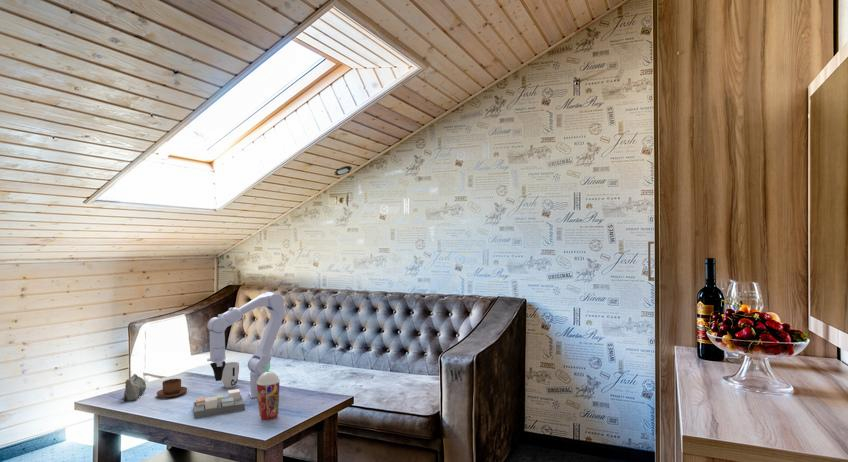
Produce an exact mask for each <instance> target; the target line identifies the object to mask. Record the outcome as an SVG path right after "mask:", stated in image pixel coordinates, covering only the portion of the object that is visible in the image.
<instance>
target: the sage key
mask: <svg viewBox="0 0 848 462" xmlns="http://www.w3.org/2000/svg"><path fill="white" fill-rule="evenodd" d="M211 397H217V403H221V399H224V397H225V396H224V394H217V395H212V396H211Z"/></svg>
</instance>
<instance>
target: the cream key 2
mask: <svg viewBox="0 0 848 462" xmlns="http://www.w3.org/2000/svg"><path fill="white" fill-rule="evenodd" d="M240 395H241V391H240V388H237V389H230V390H227V397H228V398H232V397H233V400H240Z"/></svg>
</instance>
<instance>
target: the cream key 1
mask: <svg viewBox="0 0 848 462" xmlns="http://www.w3.org/2000/svg"><path fill="white" fill-rule="evenodd" d="M212 408H217V397H212V396H211V397H208V398H205V410H206V409H212Z"/></svg>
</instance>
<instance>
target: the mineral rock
mask: <svg viewBox="0 0 848 462" xmlns="http://www.w3.org/2000/svg"><path fill="white" fill-rule="evenodd" d="M146 388H147V384H146V380H145V379H144V378H142V377H141V376H138V375H137V374H136V373H133V375H132V376H131V377H129V378H128V379H126V380H125V389H124V393H123V400H124V401H135V400H138V398H139V397H140V396H141V395H142V394H143V393H144V392H145V391H146Z"/></svg>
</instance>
